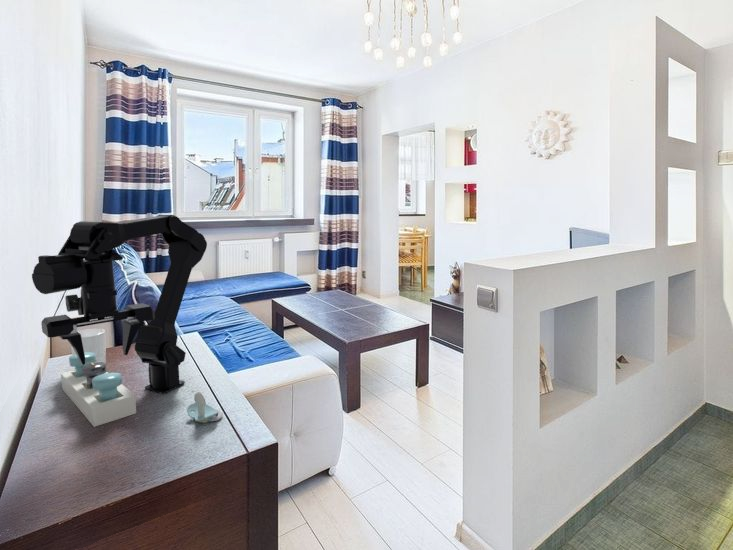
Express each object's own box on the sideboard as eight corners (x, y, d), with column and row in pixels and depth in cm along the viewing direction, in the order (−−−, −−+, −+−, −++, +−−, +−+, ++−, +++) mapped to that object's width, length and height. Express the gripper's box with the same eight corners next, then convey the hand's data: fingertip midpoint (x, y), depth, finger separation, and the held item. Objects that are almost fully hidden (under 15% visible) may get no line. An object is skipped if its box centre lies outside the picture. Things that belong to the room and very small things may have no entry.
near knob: (126, 398, 88) (125, 377, 87) (98, 406, 84) (96, 384, 84) (118, 390, 92) (116, 370, 91) (90, 398, 88) (88, 377, 87)
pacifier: (210, 408, 92) (183, 417, 88) (210, 380, 91) (183, 388, 87) (229, 419, 87) (201, 429, 83) (228, 390, 87) (200, 399, 82)
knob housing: (136, 413, 89) (135, 395, 88) (94, 426, 83) (92, 407, 83) (99, 379, 106) (98, 364, 105) (62, 389, 100) (60, 373, 99)
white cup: (106, 361, 118) (103, 326, 116) (109, 370, 112) (106, 333, 110) (72, 367, 113) (68, 331, 112) (73, 377, 107) (69, 339, 106)
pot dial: (110, 385, 94) (108, 364, 93) (86, 392, 91) (84, 370, 90) (104, 379, 97) (102, 359, 96) (80, 385, 94) (78, 364, 93)
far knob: (100, 374, 100) (98, 356, 99) (74, 380, 96) (72, 361, 96) (93, 368, 104) (91, 350, 103) (68, 374, 100) (66, 356, 99)
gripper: (134, 274, 96) (139, 340, 99) (31, 285, 83) (40, 361, 85) (153, 281, 89) (158, 352, 91) (43, 293, 75) (53, 376, 78)
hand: (105, 359), depth 87 cm, fingers open, 7 cm apart
